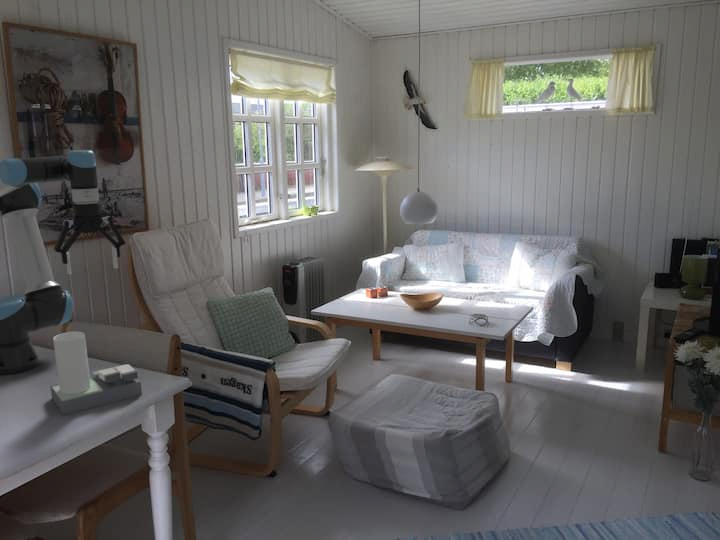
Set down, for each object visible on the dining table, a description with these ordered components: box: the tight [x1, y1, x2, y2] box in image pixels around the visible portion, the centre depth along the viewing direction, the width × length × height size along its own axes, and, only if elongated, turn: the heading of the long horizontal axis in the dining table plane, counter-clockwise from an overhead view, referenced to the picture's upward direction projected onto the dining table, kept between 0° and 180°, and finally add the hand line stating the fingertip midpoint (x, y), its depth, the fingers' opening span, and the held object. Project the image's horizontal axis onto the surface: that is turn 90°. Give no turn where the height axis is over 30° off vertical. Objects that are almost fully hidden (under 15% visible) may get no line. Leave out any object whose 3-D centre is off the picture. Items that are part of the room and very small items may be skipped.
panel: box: [50, 363, 143, 415], centre depth 188 cm, size 14×22×7 cm, turn 128°
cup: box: [52, 331, 91, 394], centre depth 182 cm, size 8×8×16 cm
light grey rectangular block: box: [97, 367, 121, 383], centre depth 188 cm, size 2×4×8 cm
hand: (93, 270), depth 196 cm, fingers open, 13 cm apart
